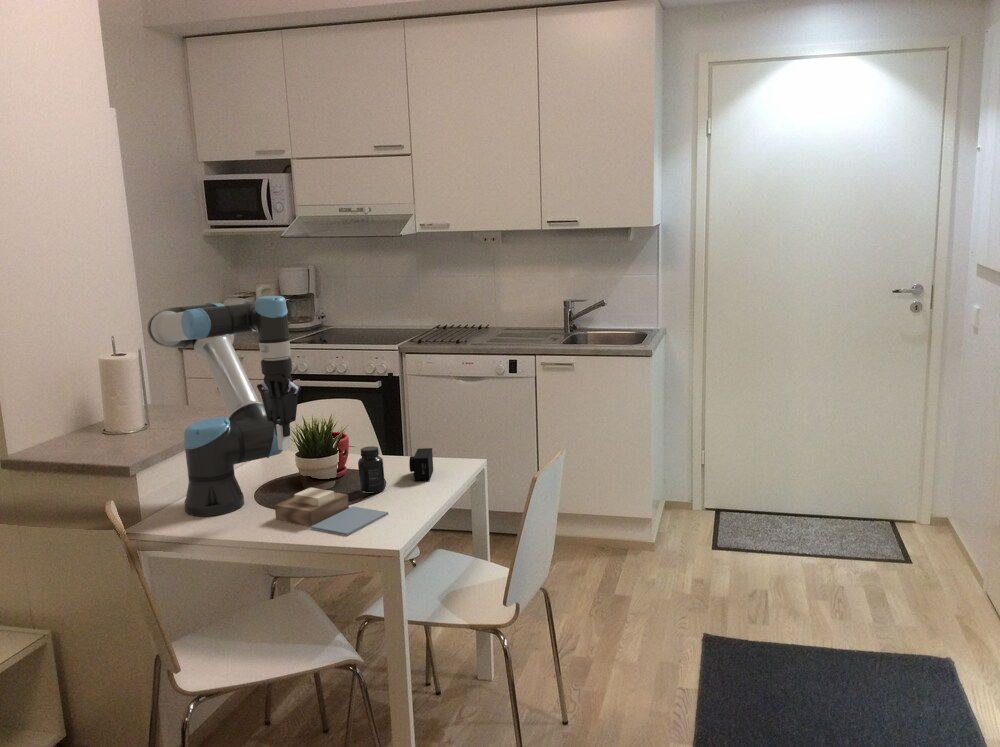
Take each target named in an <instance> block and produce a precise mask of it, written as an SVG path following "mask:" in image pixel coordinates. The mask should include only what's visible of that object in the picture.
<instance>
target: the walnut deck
mask: <svg viewBox="0 0 1000 747" xmlns="http://www.w3.org/2000/svg"><path fill="white" fill-rule="evenodd" d="M334 498H335V499H333V500H331V501H329V502H326V503H324V504H322V505H320V506H316V505H310V504H304V503H298V502H295V499H294V496H292V497H289V498H288V499H285V500H283V501H281V502H279V503H276V504H274V511H275V521H279V522H283V523H288V524H294V525H297V526H298V525H299V526H303V527H304V526H305V527H310V528H311V526H313V525H315V524H317V523H319V522H321V521H323V520H325V519H327V518H329V517H331V516H333V515H336V514H338V513H340V512H342V511H344V510H346V509H348V508H350V505H349V504H350V503H349V495H348V494H346V493H341V492H339V493H338V492H336V491H334Z"/></svg>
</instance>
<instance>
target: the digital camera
mask: <svg viewBox="0 0 1000 747" xmlns="http://www.w3.org/2000/svg"><path fill="white" fill-rule="evenodd" d="M433 460H434V458H433V448H432V447H430V448H429V447H428V448H427V447H426V448H425V447H424V448H423V447H422V448H421V447H420V448H417V450H416V452H415V453H414V455H413V456H412V455H410V456H409V464H408V465H409V472H410V473H411V472H412V473H413V478H414V479H413V480H414V482H415V483H417V482H420V483H422V482H430V480H431V478H432V477H433V476H432V475H433V474H434V473H433V472H434V461H433Z"/></svg>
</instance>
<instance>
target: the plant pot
mask: <svg viewBox="0 0 1000 747" xmlns="http://www.w3.org/2000/svg"><path fill="white" fill-rule="evenodd" d="M331 432H332V436H333V438H335V437H336V436H337V435H339V434H340V433H343V434H342V437H341V439H340V441H339V443H338V449H339V462H338V469H337V478H340V477H342V476H344V475H345V474H346V472H347V469H348V467H347V465H346V464H347V461H348V459H349V458H348V457H349V450H350V448H349V447H350V446H349V445H350V440H349V438H350V437H349V435H348V434H347V433H344V432H340V431H331Z"/></svg>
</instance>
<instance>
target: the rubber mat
mask: <svg viewBox="0 0 1000 747" xmlns="http://www.w3.org/2000/svg"><path fill="white" fill-rule="evenodd" d="M388 515H389V511H383V510H377V509H372V508H365V507H359V506H354V505H353V506H349V508H348V509H346V510H344V511H342V512H340V513H338V514H336V515H333V516H331V517H329V518H327V519H325V520H323V521H321V522H319V523H317V524H315V525H313V526H311V527H310V529H311V530H316V531H321V532H325V533H326V532H327V533H331V534H337V535H340V536H341V535H342V536H346V537H348V536H350V535H352V534H355V533H356V532H358V531H360V530H362V529H363V528H365V527H368V526H369V525H371V524H373V523H375V522H377V521H379V520H381V519H383V518H385V517H386V516H388Z"/></svg>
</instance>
